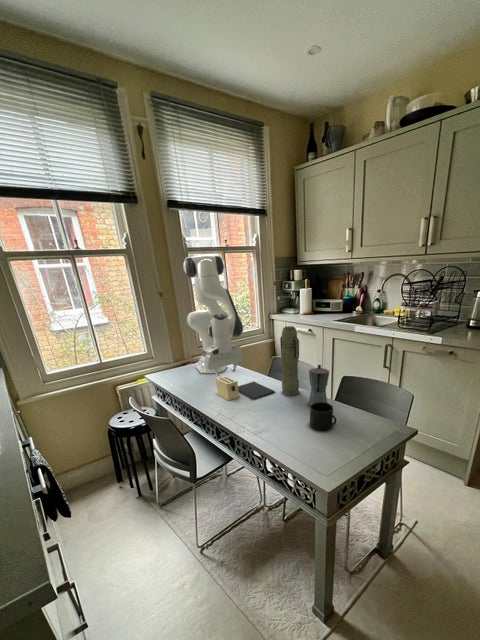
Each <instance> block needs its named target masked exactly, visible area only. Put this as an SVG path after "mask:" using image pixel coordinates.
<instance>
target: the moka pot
mask: <svg viewBox="0 0 480 640" xmlns="http://www.w3.org/2000/svg"><path fill="white" fill-rule="evenodd" d="M329 376H330V370H329V369H327V368H323V367H322V365H321V364H317V367H313V368H311V369H309V370H308V377H309V385H310V393H309V401H308V405H309V406H311V405H312V404H314V403H320V402H322V403H328V398H327V386H328V382H329Z"/></svg>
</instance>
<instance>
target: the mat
mask: <svg viewBox="0 0 480 640" xmlns="http://www.w3.org/2000/svg"><path fill="white" fill-rule="evenodd" d="M238 392H239V394H242V395H244V396H245V397H247V398H249V399H252V400H253V401H254V400H257V399H260V398H263V397H266V396H270V395H272V394H274V393H276V392H275V390H273V389H272V388H269V387H267V386H264V385H263V384H260V383H259V382H256V381H251V382H247V383H244V384H241V385H238Z"/></svg>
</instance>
